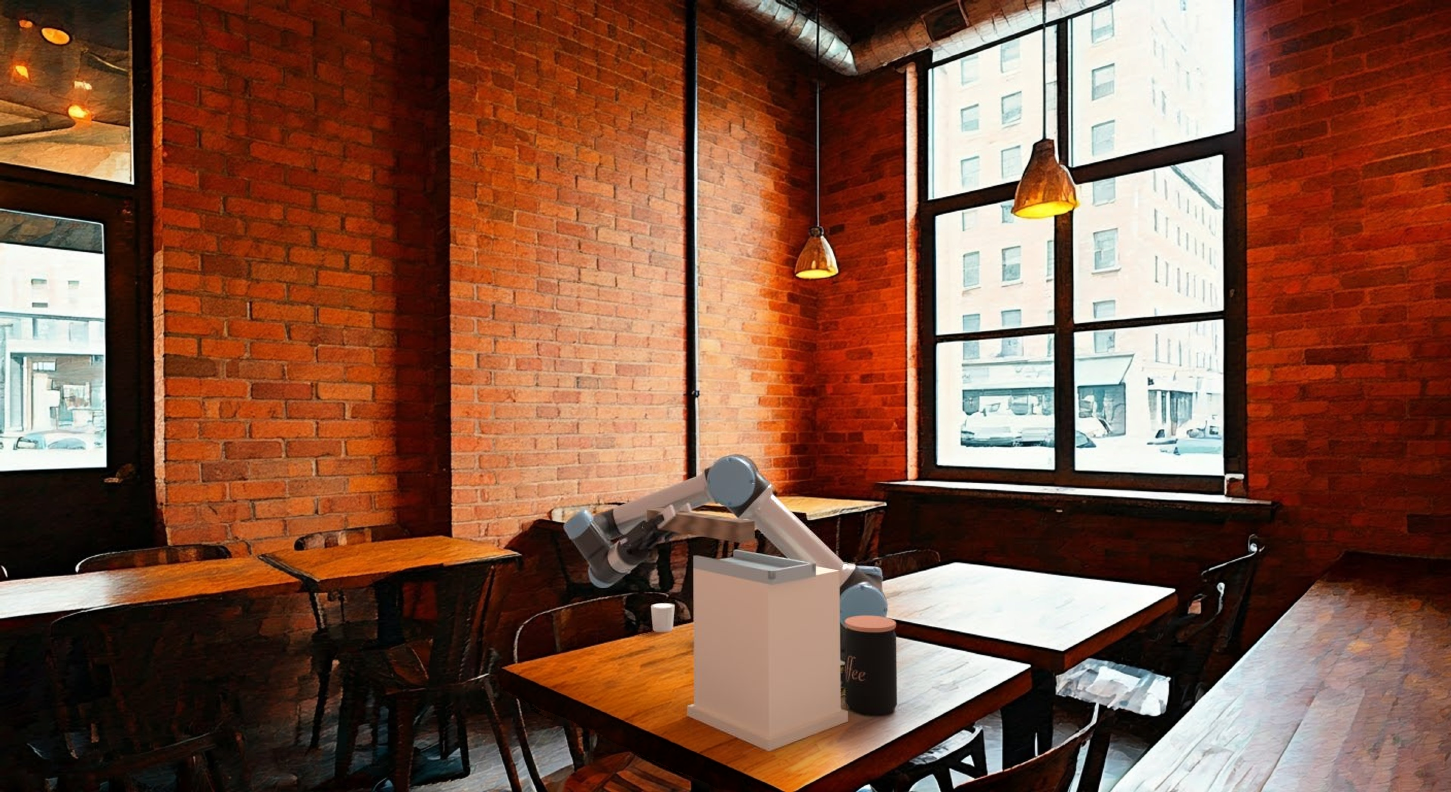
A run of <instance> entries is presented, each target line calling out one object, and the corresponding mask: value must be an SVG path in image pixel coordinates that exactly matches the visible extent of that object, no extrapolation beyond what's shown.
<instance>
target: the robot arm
mask: <svg viewBox="0 0 1451 792" xmlns="http://www.w3.org/2000/svg"><path fill="white" fill-rule="evenodd" d="M709 503H713V504H716V505H718V504H719V505H721V506H723V507H726V509H728V511H730V512H731V513H732V514H733V515H734V516H735V518H737V519H744V520H752V521H755V528H756V529H757V530H758V531H760V532H761V534H763V536H764V537H765V538H767V540H768V541H770V543H772V544H773V545H774V546H775V547H776V549H778V550H779V551H780V552H781V554H783V555H784V556H785V558H787V559H793V560H799V561H804V562H810V563H816V566H817V567H822V568H828V569H833V570H839V585H840V660H841V661H843V662H845V631H846V630H847V627H846V626H845V620H846V619H847V618H850V617H854V616H880V617H886V618H887V615H888V611H889V610H888V608H889V607H888V606H889V604H888V601H887V600H888V599H887V597H886V595H885V593H884V591H883V580H884V576H883V570H882V568H880V567H878V566H869V565H868V566H867V565H857V564H855V563H845V562H844V561H843V560H842V559H841V558H840V557H839V556H838V555H837V554H835V552H833V551H832V550H831V549H830V548H829V546H828V545H826V544H825V543H824V542H823V541H822V540H821V538H819V537H818V536H817V535H816V534H815V533H814V532H813V531H812V530H810V528H809V527H807V526H806V524H805V523H803V521H801V520H800V519H799V518H798V517H797V516H796V515H795V514H794V513H793V512H792V511H791V510H790V509H789V508H788V507H787V506H786V505H785V504H784V503H783V502H781V500H779V498H777V497H776V495H774V493H773V485H772V483H771V482H770V480H768V479H767V478H766V477H765V476H764V475H763V474H762V473H760V470H759V468H758V466H757V464H756V463H755V462H754V460H752V458H750V457H748V456H747V455H744V454H739V453H737V454H736V453H735V454H730V455H726V456H723V457H722V456H721V457H720V458H719V459H718V460H716V461H714V463H713V464H712V465H711V466H710V467H707V468H704V469H703V470H702V473H701V474H699V475H697V476H694V477H692V478H689V479H686V480H683V481H680V482H678V483H676V484H673V485H671V486H668V487H665V488H663V489H660V490H657V491H655V492H652V493H650V494H647V495H644V496H641V497H638V498H636V499H634V500H631V501H628V502H625V503H624V504H621V505H619V506H618V505H617V506H616V507H614V508H611V509H607V510H605V511H602V512H599V513H596V514H594V515H593V514H591V513H590V511H589V510H588V509H585V508H584V509H581V510H580V511H578V512H577V513H575V514H574V515H572V517H570V518H569V519H568V520H567V521H565V523H564V524H563V530H564V531H565V533H566V534H567V536H568V538H569V540H571V542H572V543H573V544H574V545H575V547H576V549H578V551H579V553H580V554H581V555H582V556H583V558H585V560H586V562H587V563H588V565H589V567H588V570H587V573H588V578H589V581H590V582H591V583H592V584H593V585H594V586H595V587H597V588H601V589H602V588H603V589H604V588H605V589H606V588H610V587H611V586H612V585H615V584H616V583H617V582H619V581H620V580H621V579H623V578H624V577H626V575H628V574H630V573H631V571H632V570H634V569H635V568H636V567H638V565H640V564H642V563H643V562H644V561H645V560H647V559H648V558H649V556H650V554H651V551H652V548H654V547H655V546H656V545H658V543H661V542H663V543H664V544H667V543H669V542H670V541H671V539H672V538H674V537H675V535H677V534H678V533H679V532H673V531H667V530H661V529H659V528H662V527H663V526H664V525H666V524H667V523H668V522H669V521H671V520H672V519H673V518H674V517H675V516H676V514H675V511H674V510H677V511H685V512H692V513H694V512H693V509H696V508H699V507H702V506H704V505H707V504H709ZM659 508H662V509H664V510H663V511H662V512H661V513H660V514H658V515H657V516H656V517H655V518H653V519H650V520H649V521H648V522H647V510H648V509H659ZM657 526H658V529H657ZM616 538H618V540H617V541H616V542H615V543H613V542H612V541H611V540H614V539H616Z"/></svg>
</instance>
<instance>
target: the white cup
mask: <svg viewBox="0 0 1451 792" xmlns="http://www.w3.org/2000/svg"><path fill="white" fill-rule="evenodd" d="M650 610H651V621H652V630H653V631H654V632H656V633H669V632H671V631H673V629H674V628H673V627H674V619H675V618H674V617H675V616H674V615H675V604H674V603H667V602H664V603H663V602H662V603H661V602H660V603H655V604H651V606H650Z"/></svg>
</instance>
